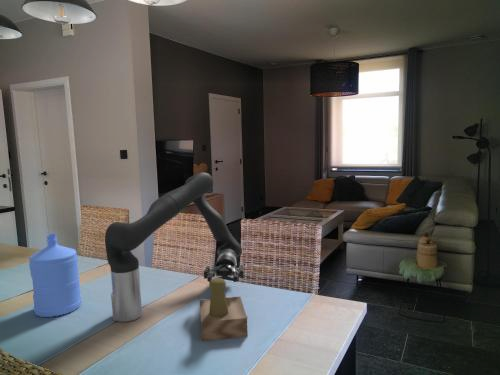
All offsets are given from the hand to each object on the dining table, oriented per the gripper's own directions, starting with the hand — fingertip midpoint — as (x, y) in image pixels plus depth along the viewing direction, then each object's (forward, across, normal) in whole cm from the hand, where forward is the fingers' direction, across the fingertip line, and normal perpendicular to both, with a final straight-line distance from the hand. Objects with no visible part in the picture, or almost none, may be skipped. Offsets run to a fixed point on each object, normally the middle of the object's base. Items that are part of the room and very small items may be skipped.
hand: (222, 279), depth 127 cm
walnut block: (+8, 0, +13) cm, 15 cm away
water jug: (-8, -62, +13) cm, 64 cm away
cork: (+11, 0, +7) cm, 13 cm away
